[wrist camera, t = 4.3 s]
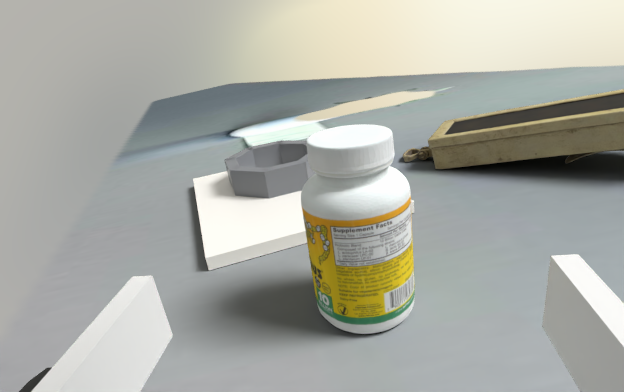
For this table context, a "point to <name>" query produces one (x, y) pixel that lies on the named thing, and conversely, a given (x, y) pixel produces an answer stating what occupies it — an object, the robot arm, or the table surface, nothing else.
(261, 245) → the plate
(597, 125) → the box
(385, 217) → the supplement bottle
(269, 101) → the table surface
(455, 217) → the table surface
